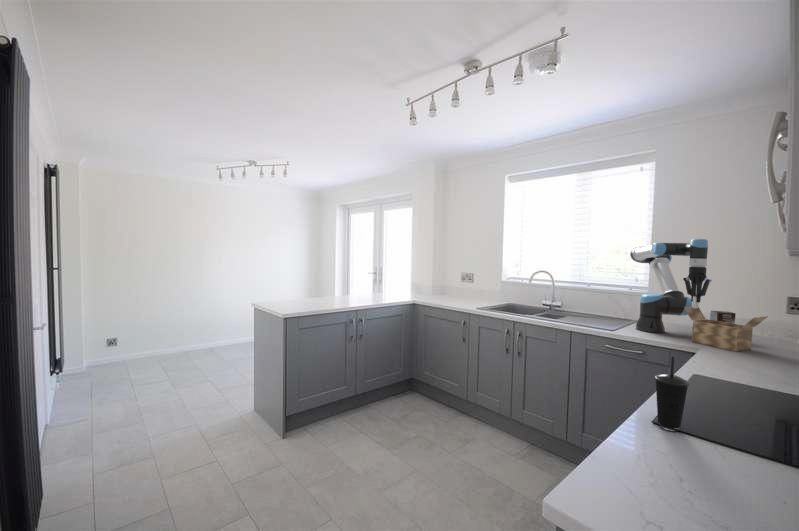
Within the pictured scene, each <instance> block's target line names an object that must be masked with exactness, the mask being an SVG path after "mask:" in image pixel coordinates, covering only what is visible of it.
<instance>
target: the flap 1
mask: <svg viewBox="0 0 799 531" xmlns="http://www.w3.org/2000/svg"><path fill="white" fill-rule="evenodd" d="M692 306H693V305H692ZM692 306H691V307H684V308H685V310H686V312H687V313H688V315H687V316H688V317H689V318H690V320H691V321H694V320H704V319H707V318H706V317H705V315H704V313H703V312H702V311H701V308H700V307H699V306H698V308H692Z"/></svg>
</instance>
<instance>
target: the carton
mask: <svg viewBox="0 0 799 531" xmlns="http://www.w3.org/2000/svg"><path fill="white" fill-rule="evenodd" d="M744 325H745V324H738V323H735V324H733V323H727V322H721V321H714V320H710V319H707V318H706V319H702V320H692V338H691V342H692V343H695V344H699V345H700V344H701V345H704V346H709V347H714V348H719V349H724V350H728V351H732V352H737V353H740V352H745V351H750V350H752V342H753V341H752V340H753V328H754V327H752V328H745V329H740V328H741V327H743V326H744Z"/></svg>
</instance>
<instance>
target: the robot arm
mask: <svg viewBox="0 0 799 531" xmlns="http://www.w3.org/2000/svg"><path fill="white" fill-rule="evenodd" d="M708 242H709V241H708V239H705V238H693V239H691V240H690V242H661V241H659V242H653V243H652V244H651V245H648V246H638V247H634V248H632V249H631V251H630V253H629V255H630V258H631V259H632V260H633V261H634V262H636V263H640V264H648V265H649V267H650V268H651V269H653V270H654V271H653V272H654V274H655V277H656V279H657V281H658V284H659V287H660V290H661V292H662V293H660V292H658V293H651V292H650V293H644V294H641V296H640V301H639V302H640V303H639V317H638V320H637V321H636V324H635V329H636V330H637V329H638V331H641V330H642V332H646V331H648V333H654V332H658V333H657V334H660V333H661V334H663V333H662V332H664V333H665V331H666V328H665V325H664V322H663V315H669V316H679V317H680V316H689V315H688V313H687V312H686V310H685V308H684V307H691V306H692V308H698V307H699V303H701V298H702V297H704V296H706V294H707V290H708V288H709V287H710V286H709V285H710V284H711V282H712V279H709V278H708V277H707V266H708V259H707V258H708V252H709V250H708V248H709V243H708ZM673 256H676V257H677V256H681V257H689V264H688V265H689V267H688V274H687V276H686V277H683V281H684V284H685V289H686V294H687V295H689V296H690V297H688V296H685V294H684V293H683V291H680V290H679V287H678V285H677V283H676V280H675V278H674V275H673V272H672V270H671V268H670V263H671V262H672V259H673Z"/></svg>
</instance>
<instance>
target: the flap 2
mask: <svg viewBox="0 0 799 531" xmlns="http://www.w3.org/2000/svg"><path fill="white" fill-rule="evenodd" d="M767 318H769V316H768V315H767V316H758V317H755V316H754V317H753V318H752V319H750V320H749V321H748V322H747V323H746V324H743V325H744V326H743V327H741V328H740V329H745V328H752V327H753V328H756V327H757V326H758V325H759V324H761V323H762V322H763V321H765V320H766V319H767Z"/></svg>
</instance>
